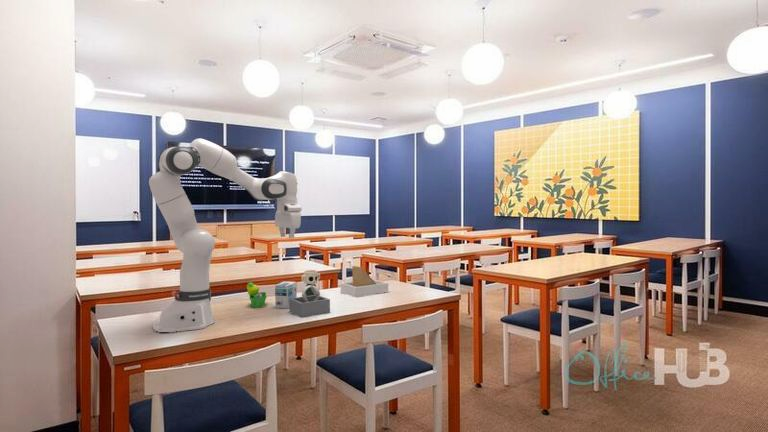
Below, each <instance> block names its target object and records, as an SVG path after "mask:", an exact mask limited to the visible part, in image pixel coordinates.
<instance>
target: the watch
mask: <svg viewBox="0 0 768 432" xmlns="http://www.w3.org/2000/svg"><path fill="white" fill-rule="evenodd" d="M309 287H311V290H312V292H313V293H314V295H315V296H316V298H315V299H314V300H313V301H317V300H318V299H319V297H320V296H321V295H320V294H321V291H320V290H319V288H318V286H317V285H316V286H311V285H308V286H306V285H305V286H304V288H303V289H302V292H301V297H303V299H304V301H305V302H308V300H307V298H306V296H307V295H305V292H306V290H307V289H308V288H309Z"/></svg>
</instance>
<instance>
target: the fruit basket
mask: <svg viewBox="0 0 768 432" xmlns="http://www.w3.org/2000/svg"><path fill="white" fill-rule="evenodd" d="M246 289H247V294H248V295H249V299H250V302H251V308H252V309H256V308H264V307H265V303H266V299H267V292H266V291H265V292H264V291H262V292H261V291H260V287H259V286H258V285H256V284H254V283H253V282H247V286H246ZM259 291H260V292H259Z"/></svg>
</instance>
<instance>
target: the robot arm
mask: <svg viewBox="0 0 768 432" xmlns="http://www.w3.org/2000/svg"><path fill="white" fill-rule="evenodd" d="M157 160H158V161H157V172H155V173H154V174H152V175H151V177H149V180H148V185H149V188H150V191H151V194H152V197H153V199H154V202H155V203H156V205H157V207H158V209H159V210H160V213H161V214H162V216H163V218H164V221H165V222H166V224H167V226H168V229H169V232H170V235H171V238H172V240H173V242H174V245H175V247H176V249H177V250H178V251H179V252H180V253H182V256H183V257H182V261H181V266H180V269H179V290H177V291H176V290H172V291H171V295H172V296H173V297H174V300H173V301H172V302H171V303H170V304H168V305H167V306H166V307H165V308H164V309H162V310H161V312H160V315H159V321H158V322H155V323H154V324H153V325H152V329H153V330H154V332H156V331H158V332H157V333H159V332H169V333H176V331H177V332H186V331H191V330H192V331H194V330H202V329H205V328H206V327H208V326H211V325H212V324H214V323H215V320H214V317H213V314H212V313H213V311H212V307H211V299H212V291H211V287H210V267H211V260H212V254H213V251H214V249H215V245H216V241H215V237H214V236H213V235H212V234H211V233H210V232H209V231H208V230H206V229H203V228H200V227H199V224H198V222H197V219H196V216H195V214H196V213H195V210H194V208H193V205H192V202H191V201H190V199H189V198H188V195H187V194H186V191H185V190H184V188H183V186H182V183H181V176H184V175H187V174H189V173H191V172H192V171H194V169H195V168H196V167H197V166H198V167H201V168H204V169H205V170H207V171H209V172H211V174H214V175H217V176H220V177H223V178H225V179H227V180H229V181H232V182H233V183H235V184H236V185H238V186H240V187H241V188H243V189H245V190H246V191H247V192H248V194H249V195H250V197H252V198H253V199H254V200H256V201H265V200H267V201H268V200H269V201H270V200H271V201H273V200H275V199H276V200H277V202H276V205H277V206H276V207H277V209H276V212H275V216H274V225H275V227H276V228H277V227H278V229H279V230H278V231H279V233H280V237H282V238H285V237H286V232H285V229H286V228H287V229H289V234H288V239H294V238H295V233H296V229H300V227H301V225H302V224H301V223H302V210H303V208H302V206H301V205H299V203H298V198H297V193H298V182H297V180H298V179H297V176H296V174H295V173H294V172H291V171H288V170H287V171H286V170H280V171H279V172H277V173H276V174H274V175H272V176H269V177H266V178H265V177H264V178H258V177H254V176H252V175H251V174H249V173H247V172H246V171H244V170H242V169H241V168H239V166H238V160H237V157H236V156H235V155H234V154H232V153H231V151H229V150H227V149H226V148H224V147H222V146H220V145H218V144H217V143H214V142H212V141H209V140H207V139H203V138H202V137H201V138H195V139H193V140H192V141H191V142H190V144H189V145H188V146H171V147H168V148H166V149H164V150H163V151H161V153H160V154H159V156H158V159H157Z"/></svg>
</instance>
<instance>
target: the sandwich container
mask: <svg viewBox="0 0 768 432" xmlns="http://www.w3.org/2000/svg"><path fill="white" fill-rule="evenodd" d="M351 267H352V272H351V273H352V282H353V286H354V287H361V286H368V285H375V284H376V283H375V282H374V281H373V280H372V279H373V278H372V276H370V275H369V274H368V273H367V272H366V270H364V268H363V267H362V266H356V265H352V266H351Z"/></svg>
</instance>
